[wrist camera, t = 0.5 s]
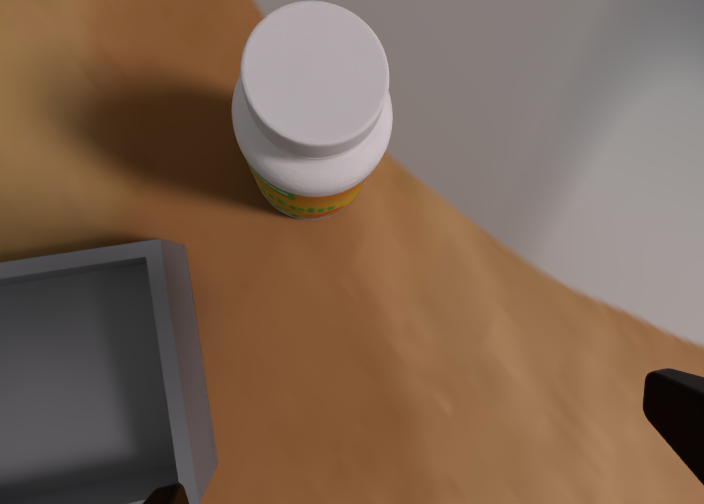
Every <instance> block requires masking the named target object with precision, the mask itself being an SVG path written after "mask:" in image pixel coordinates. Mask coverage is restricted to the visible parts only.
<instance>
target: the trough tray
mask: <svg viewBox="0 0 704 504" xmlns="http://www.w3.org/2000/svg"><path fill="white" fill-rule="evenodd" d="M217 464H218V463H217V456H216V450H215V443H214V436H213V430H212V423H211V416H210V410H209V403H208V396H207V390H206V383H205V376H204V370H203V363H202V356H201V350H200V343H199V336H198V330H197V323H196V316H195V310H194V303H193V296H192V290H191V283H190V276H189V270H188V263H187V256H186V249H185V245H181V244H177V243H173V242H170V241H166V240H162V239H155V240H148V241H142V242H135V243H128V244H121V245H115V246H108V247H101V248H94V249H88V250H81V251H74V252H67V253H61V254H54V255H47V256H40V257H34V258H27V259H20V260H13V261H7V262H0V504H142V503H143V502H144V501H145V500H146V499H147V498H148V496H149V495H150V494H151V493H152V492H153V491H154V490H155V489H156V488H158V487H161V486H165V485H169V484H174V483H181V484H182V485H183V486H184V488H185V491H186V494H187V498H188V501H189V504H199V503H200V501H201V499H202V496H203V494H204V492H205V490H206V488H207V486H208V483H209V481H210V479H211V477H212V475H213V472H214V470H215V468H216V466H217Z"/></svg>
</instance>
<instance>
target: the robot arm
mask: <svg viewBox="0 0 704 504" xmlns="http://www.w3.org/2000/svg"><path fill="white" fill-rule="evenodd" d="M643 411H644V414H645V416H646V418H647V419H648V421H649V422H650V423H651V424H652V425H653V426H654V428H655V429H656V430H657V431H658V432H659V434H660V435H661V436H662V437H663V438H664V439H665V441H666V442H667V443H668V444H669V445H670V446H671V448H672V449H673V450H674V451H675V452H676V453H677V455H678V456H679V457H680V458H681V459H682V461H683V462H684V463H685V464H686V465H687V466H688V468H689V469H690V470H691V471H692V472H693V473H694V475H695V476H696V477H697V478H698V479H699V480H700V482H701V483H702V484H703V485H704V377H701V376H697V375H693V374H690V373H686V372H682V371H678V370H675V369H669V368H666V369H661V370H657V371H652V372H650V373H648V374H647V376H646V378H645V386H644V397H643ZM142 504H189V501H188V498H187V494H186V491H185V488H184V486H183V485H182V484H181V483H174V484H169V485H165V486H161V487H158V488H156V489H155V490H154V491H153V492H152V493H151V494H150V495H149V496H148V498H147V499H146V500H145V501H144V502H143V503H142Z"/></svg>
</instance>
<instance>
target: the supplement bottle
mask: <svg viewBox="0 0 704 504" xmlns="http://www.w3.org/2000/svg"><path fill="white" fill-rule="evenodd" d="M388 88H389V68H388V62H387V59H386V55H385V52H384V49H383V47H382V45H381V43H380V41H379V39H378V38H377V36H376V35H375V34H374V32H373V31H372V30H371V28H370V27H369V26H368V25H367V24H366V23H365V22H364V21H363V20H361V19H360V18H359V17H358V16H357V15H355V14H353V13H352V12H350V11H348V10H346V9H344V8H342V7H340V6H337V5H334V4H331V3H327V2H321V1H300V2H296V3H292V4H288V5H285V6H283V7H280V8H278V9H276V10H275V11H273V12H272V13H270V14H269V15H267V16H266V17H265V18H264V19H263V20H261V21H260V22H259V24H258V25H257V26H256V27H255V28H254V30H253V31H252V33H251V34H250V36H249V38H248V40H247V42H246V44H245V46H244V50H243V54H242V58H241V67H240V76H239V78H238V81H237V83H236V86H235V89H234V93H233V99H232V122H233V128H234V133H235V136H236V140H237V143H238V145H239V148H240V150H241V152H242V154H243V156H244V158H245V160H246V162H247V164H248V166H249V168H250V170H251V172H252V174H253V176H254V178H255V181H256V183H257V185H258V187H259V189H260V191H261V192H262V194H263V195H264V197H265V198H266V199H267V200H268V202H269V203H270V204H271V205H273V206H274V207H275V208H276V209H278V210H279V211H281V212H282V213H284V214H286V215H288V216H291V217H294V218H297V219H302V220H319V219H324V218H328V217H330V216H333V215H335V214H337V213H339V212H340V211H342V210H343V209H344V208H346V207H347V206H348V205H349V204H350V203H351V202H352V201H353V200H354V198H355V197H356V196H357V194H358V192H359V191H360V189H361V188H362V186H363V185H364V183H365V182H366V180H367V179H368V177H369V176H370V174H371V173H372V172H373V170H374V169H375V167H376V166H377V165H378V163H379V161H380V160H381V158H382V156H383V154H384V152H385V150H386V147H387V145H388V142H389V140H390V135H391V131H392V119H393V117H392V116H393V115H392V105H391V99H390V95H389V92H388Z"/></svg>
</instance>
